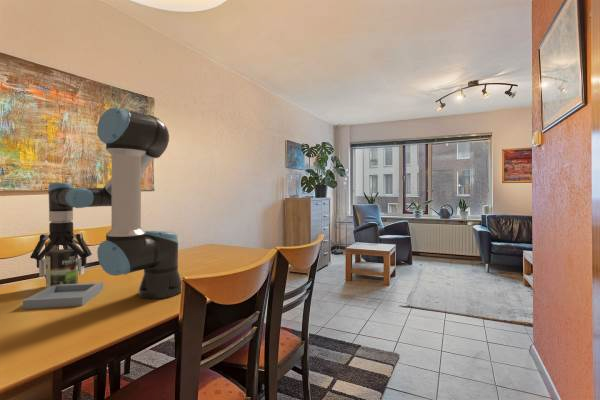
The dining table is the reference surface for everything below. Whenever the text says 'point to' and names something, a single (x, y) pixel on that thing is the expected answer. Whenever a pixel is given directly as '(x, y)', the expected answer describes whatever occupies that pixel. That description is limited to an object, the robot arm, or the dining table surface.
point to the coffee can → (61, 267)
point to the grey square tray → (63, 295)
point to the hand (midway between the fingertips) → (62, 275)
